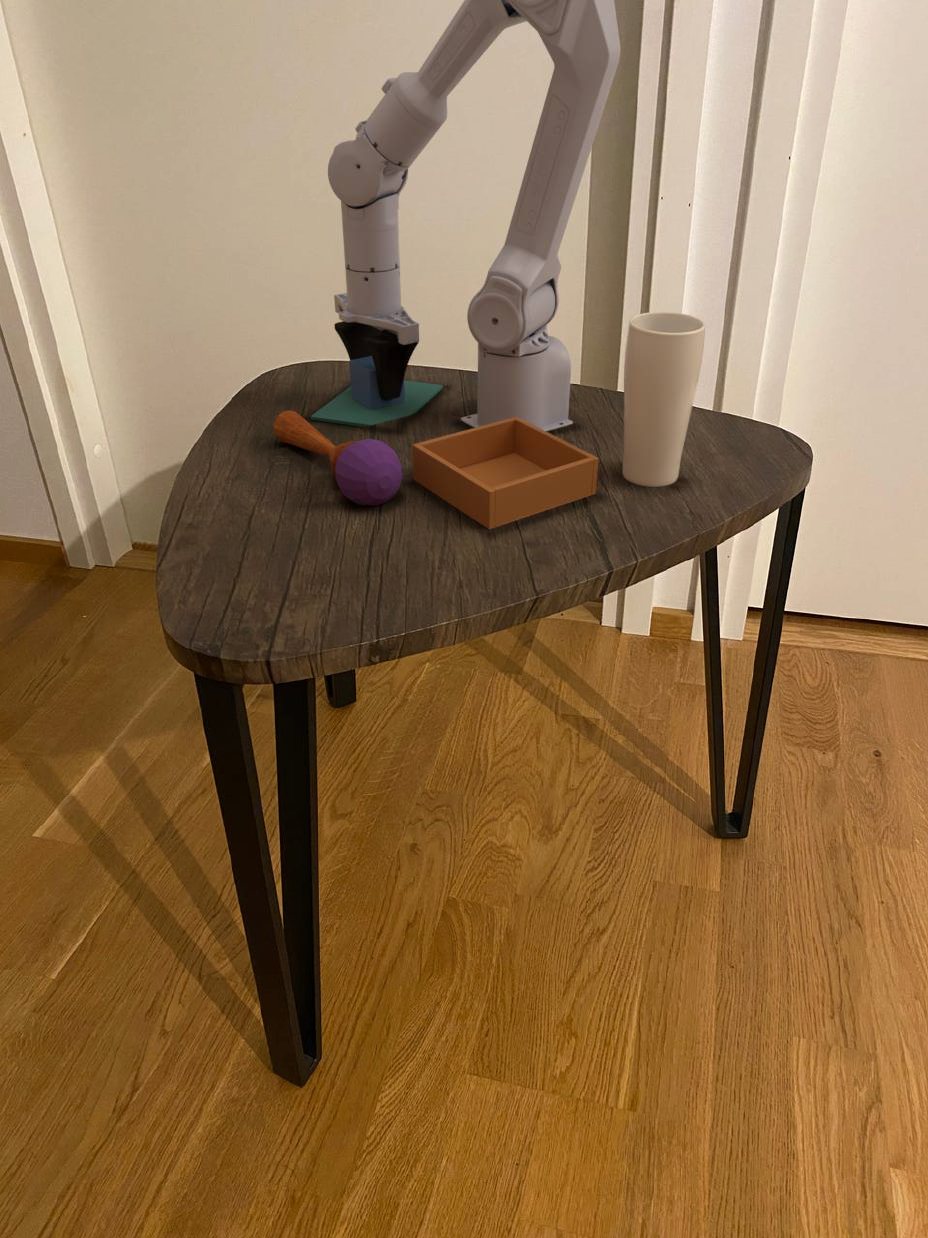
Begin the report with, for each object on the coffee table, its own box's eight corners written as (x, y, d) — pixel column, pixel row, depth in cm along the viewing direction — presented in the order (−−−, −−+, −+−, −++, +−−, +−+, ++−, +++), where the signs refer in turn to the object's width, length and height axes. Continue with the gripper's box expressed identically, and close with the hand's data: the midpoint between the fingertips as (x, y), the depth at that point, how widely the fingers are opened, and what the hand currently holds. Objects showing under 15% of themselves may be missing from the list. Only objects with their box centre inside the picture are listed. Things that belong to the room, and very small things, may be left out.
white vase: (700, 484, 93) (723, 326, 85) (644, 500, 90) (663, 338, 82) (653, 459, 98) (671, 307, 90) (599, 473, 95) (612, 318, 87)
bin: (515, 453, 99) (516, 416, 97) (595, 497, 90) (598, 457, 88) (413, 483, 93) (412, 444, 91) (489, 533, 85) (489, 491, 82)
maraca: (316, 397, 101) (417, 447, 86) (313, 453, 103) (411, 511, 89) (262, 397, 98) (357, 450, 83) (260, 456, 100) (353, 517, 85)
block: (384, 390, 113) (383, 352, 110) (405, 402, 110) (403, 363, 107) (351, 398, 111) (348, 360, 108) (371, 410, 108) (369, 371, 105)
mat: (365, 378, 117) (365, 374, 117) (443, 388, 115) (443, 384, 114) (310, 419, 106) (310, 416, 106) (395, 431, 104) (395, 428, 103)
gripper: (306, 257, 105) (316, 379, 113) (374, 286, 95) (381, 418, 103) (363, 248, 109) (369, 368, 116) (435, 276, 99) (437, 404, 106)
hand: (378, 391), depth 110 cm, fingers open, 5 cm apart
